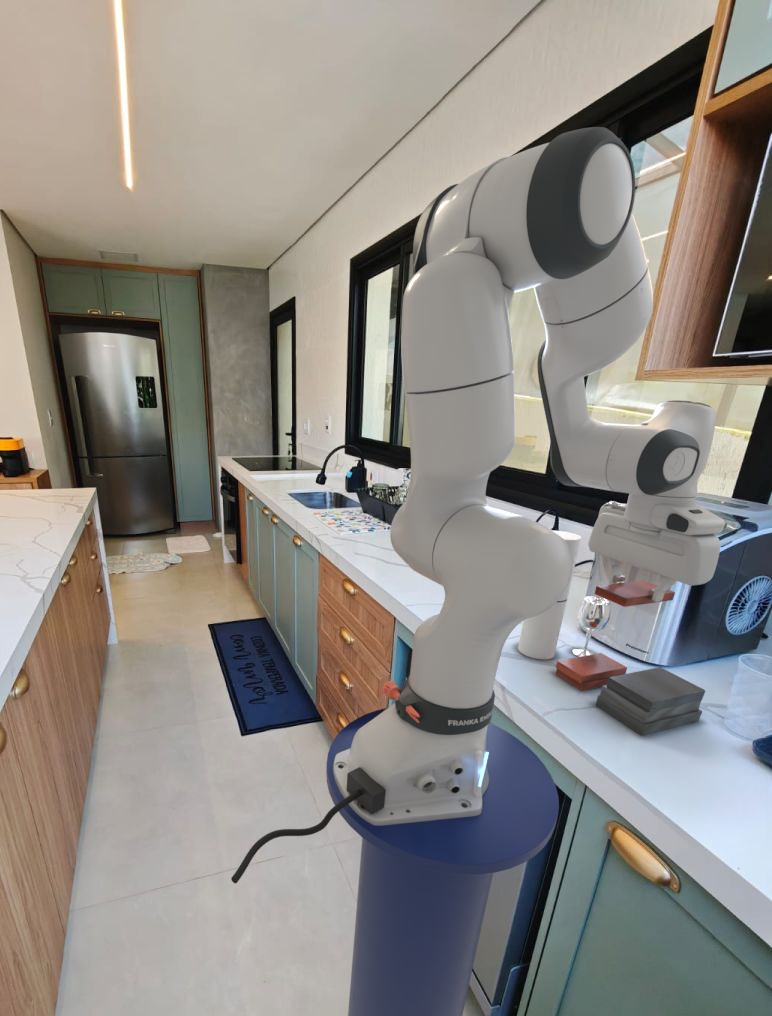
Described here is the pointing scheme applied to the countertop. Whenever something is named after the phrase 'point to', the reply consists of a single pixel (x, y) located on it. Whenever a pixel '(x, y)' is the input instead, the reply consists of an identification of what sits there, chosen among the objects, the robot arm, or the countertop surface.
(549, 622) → the cylindrical container
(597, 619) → the wineglass
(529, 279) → the robot arm
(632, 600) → the rust booklet
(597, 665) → the rust books
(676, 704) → the grey books
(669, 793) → the countertop surface
